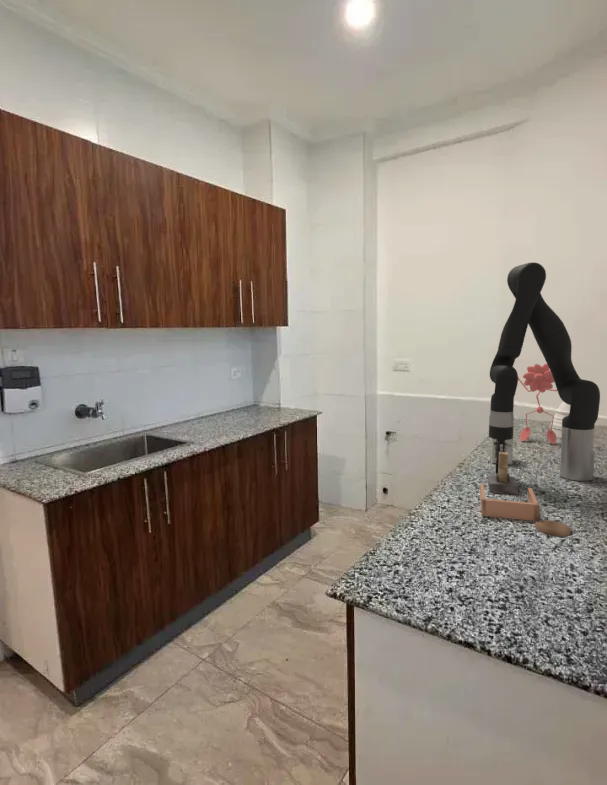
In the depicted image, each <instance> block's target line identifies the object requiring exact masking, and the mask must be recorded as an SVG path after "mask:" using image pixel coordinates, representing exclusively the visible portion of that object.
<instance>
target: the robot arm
mask: <svg viewBox="0 0 607 785" xmlns="http://www.w3.org/2000/svg"><path fill="white" fill-rule="evenodd" d="M546 271H547V270H546V269H545V268H544V266H543V265H542V264H540V263H538V262H528V263H527V262H526V263H524V264H520V265H517V266H514V267H513V268H511V269H510V271H509V272H508V274H507V278H506V279H507V280H506V282H507V285H508V288H509V290H510V293H511V294H512V296H513V297H514V299H515V301H514V304H513V306H512V310H511V312H510V314H509V316H508V318H507V320H506V321H505V324H504V326H503V329H502V331H501V334H500V339H499V343H498V347H497V351H496V354H495V355H494V358H493V360H492V363H491V366H490V369H489V378H490V380H491V382H492V383H493V384H494V393H493V394H491V398H490V411H489V416H488V417H489V419H488V437H489V438H491V440H492V439H496V442H494V455H495V459H496V460H495V463H494V464H495V474H496V473H498V464H499V452H506V450H507V445H506V443H505V440H510V439H512V438H513V439H514V425H515V424H514V423H515V415H514V405H515V404H514V403H515V395H516V391H517V387H518V385H519V384H518V383H519V380H518V377H519V375H518V371H517V370H516V368H515V367H514V365H515V362H516V359H518V358H519V357H520V356H521V353H522V349H523V345H524V342H525V338H526V335H527V330H528V326H529V327H530V330H531V332H532V335H533V338H534V339H535V342H536V343H537V346H538V347H539V348H538V349H539V350H540V352H541V353H542V356H543V358H544V360H545V362H546V364H548V366H549V370H550V371H551V373H552V376H553V378H554V382H553V383H554V384H555V385H554V386H555V388H556V390H557V391H556V392H557V393H558V396H559V398H560V400H561V401H562V402H565V403H566V404H569V405H570V413H569V415H568V416H566V417H564V418H563V419H562V436H561V438H560V439H561V440H560V448H561V449H560V455H559V456H560V457H559V458H560V459H559V460H560V461H559V476H560V477H562V478H564V479H567V480H571V481H578V482H579V481H581V482H583V481H594V474H595V472H594V470H595V458H596V457H595V456H596V452H595V451H594V437H595V424H596V422H597V421H598V418H599V411H600V403H601V392H600V388H599V386H598V384H596V383H595V382H594V381H592V380H587V379H582V378H581V377H580V376H579V374H578V373H577V371H576V368H575V366H574V364H573V360H572V350H573V349H572V348H573V347H572V340H571V336H570V335H569V332H568V331H567V328H566V326H565V324H564V321H562V319H561V318H560V316H558V315H557V313H556V312H555V311H554V309H552V308H551V307H550V306H549V305H548V303H547V302H546V301H545V299H544V298H543V295H542V294H541V292H542V291H543V287H544V285H545V283H546V279H547V273H546Z"/></svg>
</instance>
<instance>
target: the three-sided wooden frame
mask: <svg viewBox="0 0 607 785" xmlns="http://www.w3.org/2000/svg"><path fill="white" fill-rule="evenodd" d="M536 497H537V496H536V495H535V493H534V490H533V488H532V487H528V488H527V502H523V501H514V500H503V499H502V500H501V499H491V498H486V490H485V484H484V483H480V484H479V502H480V513H481V516H483V517H493V518H503V519H504V518H505V519H512V520H514V519H515V520H523V521H524V520H525V521H533V522H534V521H536V522H537V521H539V509H540V508H539V506H540V504H539V503H538V500H537V498H536Z"/></svg>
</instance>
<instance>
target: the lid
mask: <svg viewBox="0 0 607 785" xmlns="http://www.w3.org/2000/svg"><path fill="white" fill-rule="evenodd" d="M534 528H535V529H536V530H537V532H540V533H542V534H545V535H548V536H553V537H566V536H569V535H571V533H572V529H571V527H570V526H569V525H567V524H565V523H563V522H559V521H555V520H549V519H548V520H547V519H545V520H538V521H536V522H535V524H534Z"/></svg>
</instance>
